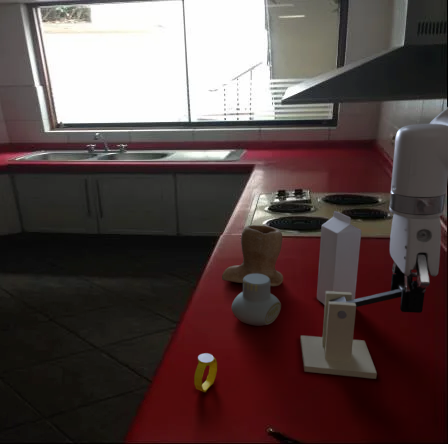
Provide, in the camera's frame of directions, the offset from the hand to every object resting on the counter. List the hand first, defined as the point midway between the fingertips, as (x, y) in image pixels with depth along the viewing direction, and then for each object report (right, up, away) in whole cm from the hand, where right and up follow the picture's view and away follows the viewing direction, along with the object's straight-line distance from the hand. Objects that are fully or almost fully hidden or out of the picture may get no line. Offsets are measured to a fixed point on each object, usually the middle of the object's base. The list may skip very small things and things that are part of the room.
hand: (405, 301), depth 73 cm
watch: (-35, -15, +1) cm, 38 cm away
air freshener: (-21, -8, +21) cm, 31 cm away
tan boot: (-17, -2, +40) cm, 44 cm away
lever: (-5, -1, +2) cm, 5 cm away
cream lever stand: (-10, -12, +7) cm, 17 cm away
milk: (-1, -5, +26) cm, 27 cm away
